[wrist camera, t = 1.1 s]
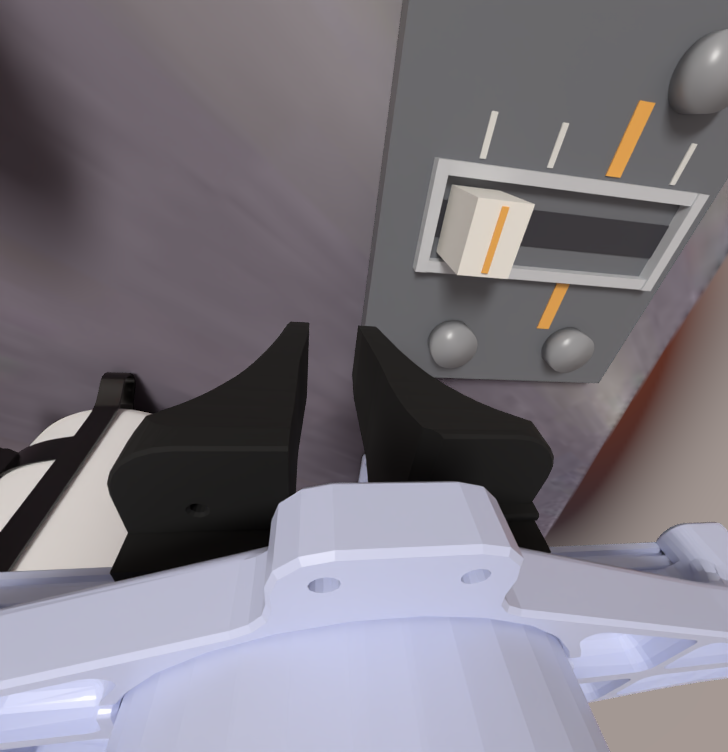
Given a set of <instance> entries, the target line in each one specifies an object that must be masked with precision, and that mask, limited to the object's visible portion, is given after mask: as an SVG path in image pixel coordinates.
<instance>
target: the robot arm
mask: <svg viewBox="0 0 728 752" xmlns="http://www.w3.org/2000/svg"><path fill="white" fill-rule="evenodd" d="M308 346H309V323H305V322H290V323H289V324H287V326H286V328H285V329H284V330H283V332H282V333H281V334H280V336H279V337H278V338H277V339H276V341H275V342H274V343H273V344H272V345H271V346H270V347H269V348H268V349H267V351H266V352H264V353H263V354H262V355H261V356H260V357H259V358H258V359H257V360H256V361H255V362H254V363H253V364H252V365H250V366H249V367H248V368H247V369H245V370H244V371H243V372H241V373H240V374H239V375H237V376H236V377H234V378H232V379H231V380H229V381H227V382H225V383H224V384H222V385H220V386H219V387H217V388H215V389H213V390H211V391H209V392H207V393H205V394H203V395H201V396H199V397H196V398H194V399H192V400H189V401H187V402H185V403H182V404H179V405H177V406H174V407H171V408H168V409H165V410H162V411H159V412H156V413H153V414H150V415H147V416H145V418H144V419H143V421H142V422H141V423H140V424H139V426H138V427H137V428H136V430H135V431H134V432H133V434H132V435H131V437H130V438H129V440H128V441H127V443H126V445H125V446H124V448H123V450H122V452H121V453H120V455H119V457H118V458H117V460H116V462H115V463H114V465H113V467H112V469H111V470H110V472H109V476H108V480H107V487H108V491H109V495H110V497H111V499H112V501H113V503H114V505H115V507H116V509H117V512H118V514H119V516H120V518H121V520H122V522H123V524H124V526H125V528H126V530H127V532H128V534H127V536H126V538H125V540H124V542H123V545H122V547H121V549H120V551H119V553H118V556H117V558H116V560H115V562H114V564H113V566H112V567H98V568H77V569H55V570H33V571H11V572H0V752H610V750H609V748H608V746H607V744H606V741H605V739H604V737H603V735H602V733H601V730H600V728H599V726H598V724H597V722H596V719H595V718H594V715H593V713H592V711H591V709H590V706H589V704H588V703H589V702H594V701H599V700H605V699H609V698H614V697H620V696H624V695H630V694H635V693H640V692H645V691H650V690H656V689H661V688H667V687H672V686H678V685H684V684H691V683H697V682H703V681H710V680H717V679H725V678H728V530H727V529H725V527H724V526H723V525H722V524H721V523H716V522H705V523H683V524H678V525H675V526H673V527H670V528H669V529H667V530H666V531H665V532H663V533H662V534H661V535H660V537H659V538H658V539H657V541H656V542H647V543H624V544H603V545H580V546H559V547H548V545H547V543H546V541H545V539H544V537H543V535H542V534H541V532H540V530H539V528H538V526H537V524H536V523H535V521H534V520H537V519H538V518H539V513H538V511H537V509H536V507H535V506H534V504H533V502H532V501H533V499H534V498H535V496H536V495H537V493H538V492H539V490H540V489H541V487H542V486H543V484H544V483H545V481H546V479H547V478H548V476H549V474H550V471H551V469H552V467H553V460H554V456H553V453H552V451H551V448H550V447H549V445H548V444H547V442H546V441H545V440H544V438H543V437H542V435H541V434H540V433H539V431H538V430H537V428H536V427H535V426H534V424H533V423H532V422H531V421H528V420H525V419H523V418H520V417H517V416H514V415H511V414H508V413H505V412H502V411H499V410H496V409H494V408H491V407H489V406H487V405H484V404H482V403H480V402H477V401H475V400H473V399H471V398H469V397H467V396H465V395H463V394H461V393H459V392H457V391H455V390H454V389H452V388H450V387H448V386H446V385H445V384H443V383H441V382H440V381H438V380H437V379H435V378H434V377H432V376H431V375H429V374H428V373H427V372H425V371H424V370H423V369H421V368H420V367H419V366H418V365H416V364H415V363H414V362H413V361H411V360H410V359H409V358H408V357H407V356H406V355H404V354H403V353H402V352H401V351H400V350H399V349H398V348H397V347H396V346H395V345H394V344H393V343H392V342H391V341H390V340H389V339H388V338H387V337H386V336H385V335H384V334H383V333H382V332H381V331H380V330H379V329H378V328H377V327H375V326H358V332H357V340H356V348H355V356H354V364H353V373H352V378H353V394H354V401H355V406H356V411H357V416H358V421H359V426H360V431H361V435H362V440H363V445H364V450H365V454H364V455H363V457H362V462H361V468H360V474H359V480H358V482H357V483H328V484H323V485H317V486H311V487H306V488H303V489H301V490H300V491H298V492H297V493H296V477H297V459H298V450H299V443H300V436H301V430H302V424H303V417H304V411H305V405H306V398H307V377H308Z"/></svg>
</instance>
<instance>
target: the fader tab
mask: <svg viewBox="0 0 728 752" xmlns="http://www.w3.org/2000/svg"><path fill="white" fill-rule="evenodd" d="M534 206H535V204H533V203H530V202H528V201H525V200H523V199H520V198H518V197H515V196H513V195H510V194H508V193H505V192H502V191H500V190H492V189H484V188H476V187H468V186H460V185H452V186H451V191H450V195H449V199H448V203H447V208H446V212H445V216H444V220H443V225H442V229H441V233H440V238H439V242H438V246H437V250H436V252H437V253H438V254H439V255H440V256H441V258H442V259H443V260H444V261H445V262H446V263H447V264H448V265H449V267H450V268H451V269H452V270H453V271H454V272H455V273H456V274H457V275H464V276H476V277H488V278H500V279H508V277H509V275H510V272H511V269H512V266H513V264H514V261H515V258H516V255H517V253H518V250H519V247H520V244H521V242H522V239H523V236H524V233H525V231H526V228H527V225H528V223H529V220H530V217H531V214H532V212H533V209H534Z"/></svg>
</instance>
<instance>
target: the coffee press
mask: <svg viewBox="0 0 728 752" xmlns="http://www.w3.org/2000/svg"><path fill="white" fill-rule="evenodd" d="M134 393H135V378H134V376H133V374H131V373H111V372H107V373H105V374H104V375H103V376H102V379H101V382H100V387H99V392H98V396H97V400H96V403H95V406H94V408H93V410H89V411H84V412H80V413H76V414H73V415H70V416H67V417H65V418H63V419H60V420H59V421H57V422H55V423H53V424H52V425H50V426H49V427H48V428H47V429H45V430H44V431H43V432H42V433H41V434H40V435H39V436H38V437H37V438H36V439H35V440H34V441H33V443H32V444H31V445H30V446H29V447H27V448H25V449H23V450H21V451H20V452H15V451H13V450H10V449H3V448H0V572H11V571H33V570H55V569H77V568H98V567H112V566H113V564H114V562H115V560H116V558H117V556H118V553H119V551H120V549H121V547H122V545H123V542H124V540H125V538H126V536H127V534H128V532H127V530H126V528H125V526H124V524H123V522H122V520H121V518H120V516H119V514H118V512H117V509H116V507H115V505H114V503H113V501H112V499H111V497H110V495H109V491H108V487H107V480H108V476H109V472H110V470H111V469H112V467H113V465H114V463H115V462H116V460H117V458H118V457H119V455H120V453H121V452H122V450H123V448H124V446H125V445H126V443H127V441H128V440H129V438H130V437H131V435H132V434H133V432H134V431H135V430H136V428H137V427H138V426H139V424H140V423H141V422H142V421H143V419H144V418H145V416H147V415H150V414H151V413H147V412H143V411H137V410H134ZM4 473H5V474H4Z"/></svg>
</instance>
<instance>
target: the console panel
mask: <svg viewBox="0 0 728 752" xmlns="http://www.w3.org/2000/svg"><path fill="white" fill-rule="evenodd" d="M727 179H728V0H403V2H402V10H401V18H400V26H399V34H398V41H397V49H396V57H395V65H394V73H393V81H392V88H391V96H390V104H389V112H388V120H387V127H386V135H385V143H384V151H383V159H382V167H381V174H380V182H379V190H378V198H377V206H376V213H375V221H374V229H373V237H372V245H371V253H370V260H369V268H368V276H367V284H366V292H365V300H364V307H363V315H362V323H361V326H375V327H377V328H378V329H379V330H380V331H381V332H382V333H383V334H384V335H385V336H386V337H387V338H388V339H389V340H390V341H391V342H392V343H393V344H394V345H395V346H396V347H397V348H398V349H399V350H400V351H401V352H402V353H403V354H404V355H406V356H407V357H408V358H409V359H410V360H411V361H413V362H414V363H415V364H416V365H418V366H419V367H420V368H421V369H423V370H424V371H425V372H427V373H428V374H429V375H431V376H432V377H437V378H465V379H494V380H522V381H551V382H579V383H599V382H600V380H601V379H602V377H603V376H604V374H605V372H606V371H607V369H608V368H609V366H610V364H611V363H612V361H613V360H614V358H615V356H616V355H617V353H618V352H619V350H620V349H621V347H622V345H623V344H624V342H625V341H626V339H627V337H628V336H629V334H630V333H631V331H632V329H633V328H634V326H635V325H636V323H637V322H638V320H639V318H640V317H641V315H642V314H643V312H644V310H645V309H646V307H647V306H648V304H649V302H650V301H651V299H652V298H653V296H654V294H655V293H656V291H657V290H658V288H659V287H660V285H661V283H662V282H663V280H664V279H665V277H666V275H667V274H668V272H669V271H670V269H671V267H672V266H673V264H674V263H675V261H676V260H677V258H678V256H679V255H680V253H681V252H682V250H683V248H684V247H685V245H686V244H687V242H688V240H689V239H690V237H691V236H692V234H693V233H694V231H695V229H696V228H697V226H698V225H699V223H700V221H701V220H702V218H703V217H704V215H705V213H706V212H707V210H708V209H709V207H710V206H711V204H712V202H713V201H714V199H715V198H716V196H717V194H718V193H719V191H720V190H721V188H722V186H723V185H724V183H725V182H726V180H727ZM452 185H460V186H468V187H476V188H484V189H492V190H500V191H502V192H505V193H508V194H510V195H513V196H515V197H518V198H520V199H523V200H525V201H528V202H530V203H533V204H535V206H534V209H533V212H532V214H531V217H530V220H529V223H528V225H527V228H526V231H525V233H524V236H523V239H522V242H521V244H520V247H519V250H518V253H517V255H516V258H515V261H514V264H513V266H512V269H511V272H510V275H509V277H508V279H500V278H488V277H476V276H464V275H457V274H456V273H455V272H454V271H453V270H452V269H451V268H450V267H449V265H448V264H447V263H446V262H445V261H444V260H443V259H442V258H441V256H440V255H439V254H438V253H437V252H436V250H437V246H438V242H439V238H440V233H441V229H442V225H443V220H444V216H445V212H446V208H447V203H448V199H449V195H450V191H451V186H452Z"/></svg>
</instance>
